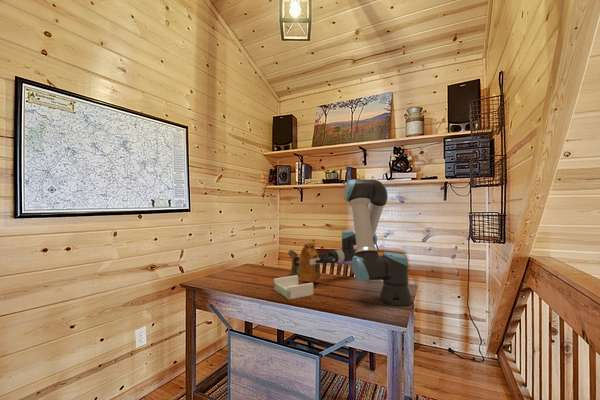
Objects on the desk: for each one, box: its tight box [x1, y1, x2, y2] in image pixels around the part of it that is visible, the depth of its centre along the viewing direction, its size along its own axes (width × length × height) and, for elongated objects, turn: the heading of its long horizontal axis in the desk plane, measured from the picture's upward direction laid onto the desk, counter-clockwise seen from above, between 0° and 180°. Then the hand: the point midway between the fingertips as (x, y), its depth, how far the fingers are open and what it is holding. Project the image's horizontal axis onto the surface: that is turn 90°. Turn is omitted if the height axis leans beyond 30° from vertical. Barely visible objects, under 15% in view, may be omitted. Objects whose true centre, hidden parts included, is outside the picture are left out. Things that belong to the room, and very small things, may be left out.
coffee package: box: [299, 241, 321, 283], centre depth 165 cm, size 10×12×22 cm
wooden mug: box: [287, 249, 300, 278], centre depth 184 cm, size 9×14×18 cm, turn 155°
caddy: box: [273, 275, 314, 301], centre depth 151 cm, size 18×15×6 cm
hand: (304, 260), depth 163 cm, fingers closed on coffee package, 11 cm apart
